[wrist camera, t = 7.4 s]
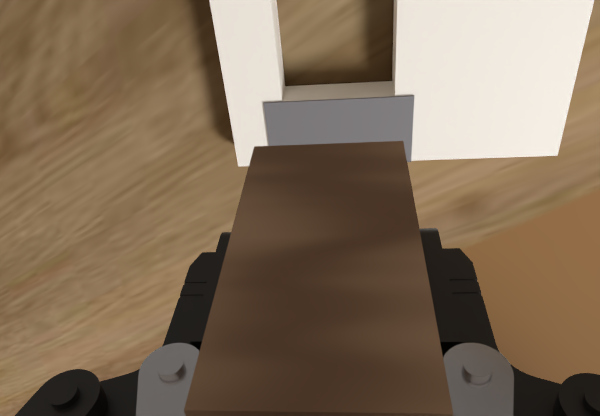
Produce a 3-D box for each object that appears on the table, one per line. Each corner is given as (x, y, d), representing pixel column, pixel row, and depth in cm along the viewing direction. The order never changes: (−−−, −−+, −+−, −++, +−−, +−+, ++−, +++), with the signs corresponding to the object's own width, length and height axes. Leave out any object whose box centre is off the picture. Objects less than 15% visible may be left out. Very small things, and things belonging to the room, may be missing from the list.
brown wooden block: (403, 140, 14) (452, 413, 8) (398, 254, 16) (434, 536, 10) (254, 146, 14) (183, 410, 8) (270, 256, 17) (226, 528, 10)
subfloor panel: (608, -150, 23) (630, -147, 21) (546, 137, 31) (558, 156, 29) (200, -113, 25) (189, -108, 23) (243, 149, 33) (238, 167, 31)
